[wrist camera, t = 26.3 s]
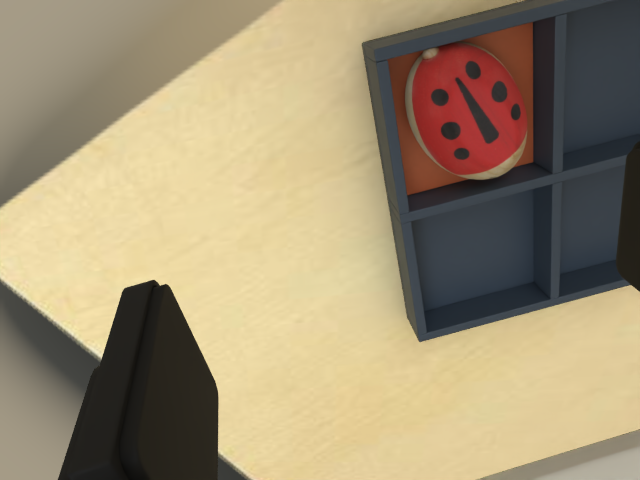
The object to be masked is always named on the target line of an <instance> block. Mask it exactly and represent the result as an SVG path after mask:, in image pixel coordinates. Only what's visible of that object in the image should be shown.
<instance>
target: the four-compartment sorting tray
mask: <svg viewBox="0 0 640 480" xmlns="http://www.w3.org/2000/svg"><path fill="white" fill-rule="evenodd" d="M457 41H463V42H468V43H472V44H475V45H477V46H480V47H482V48H484V49H485V50H487V51H489V52H490V53H491V54H493V55H494V56H495V57H496V58H497V59H498V60H499V61H500V62H501V63H502V64H503V65H504V66H505V68H506V69H507V70H508V72H509V73H510V75H511V76H512V78H513V79H514V81H515V83H516V85H517V87H518V89H519V91H520V93H521V96H522V98H523V101H524V105H525V109H526V113H527V139H526V144H525V148H524V150H523V153H522V156H521V157H520V159H519V160H518V162H517V163H516V164H515V166H514V167H513V168H511V169H510V170H509V171H508V172H506V173H505V174H503V175H501V176H499V177H496V178H492V179H485V180H475V179H468V178H463V177H460V176H457V175H455V174H452V173H450V172H448V171H446V170H445V169H443V168H441V167H440V166H439V165H437V164H436V163H435V162H434V161H433V160H432V159H431V158H430V157H429V156H428V155H427V154H426V153H425V152H424V150H423V149H422V148H421V146H420V145H419V143H418V141H417V140H416V138H415V136H414V134H413V132H412V129H411V127H410V124H409V121H408V117H407V113H406V106H405V88H406V82H407V78H408V75H409V72H410V70H411V68H412V66H413V64H414V63H415V61H416V60H417V59H418V57H419V56H420V55H421V54H422V53H423V50H426V49H430V48H434V47H438V46H442V45H446V44H449V43H453V42H457ZM362 48H363V54H364V60H365V66H366V72H367V78H368V84H369V90H370V96H371V102H372V108H373V114H374V120H375V126H376V132H377V138H378V144H379V150H380V156H381V162H382V168H383V174H384V180H385V186H386V192H387V198H388V204H389V210H390V216H391V222H392V228H393V234H394V240H395V246H396V252H397V259H398V265H399V271H400V277H401V283H402V289H403V295H404V301H405V307H406V313H407V318H408V320H409V322H410V324H411V326H412V328H413V330H414V332H415V334H416V336H417V338H418V340H419V342H422V341H425V340H429V339H433V338H436V337H440V336H444V335H448V334H451V333H455V332H459V331H462V330H466V329H470V328H473V327H477V326H481V325H484V324H488V323H492V322H495V321H499V320H503V319H506V318H510V317H514V316H517V315H521V314H525V313H529V312H532V311H536V310H540V309H543V308H547V307H551V306H554V305H558V304H562V303H565V302H569V301H573V300H576V299H580V298H584V297H587V296H591V295H595V294H599V293H602V292H606V291H610V290H613V289H617V288H621V287H624V286H628V285H631V284H630V283H628V282H627V281H626V280H624V279H623V278H622V277H621V275H620V274H619V272H618V270H617V267H616V254H617V244H618V234H619V224H620V214H621V204H622V194H623V184H624V174H625V164H626V158H627V155H628V153H629V152H631V151H632V149H633V147H634V145H635V144H636V143H637V142H639V141H640V0H526V1H522V2H518V3H514V4H511V5H507V6H503V7H499V8H495V9H491V10H487V11H483V12H479V13H476V14H472V15H468V16H464V17H460V18H456V19H452V20H448V21H444V22H441V23H437V24H433V25H429V26H425V27H421V28H417V29H413V30H409V31H406V32H402V33H398V34H394V35H390V36H386V37H382V38H378V39H374V40H371V41H367V42H363V43H362Z"/></svg>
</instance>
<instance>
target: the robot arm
mask: <svg viewBox="0 0 640 480" xmlns="http://www.w3.org/2000/svg"><path fill="white" fill-rule="evenodd" d="M616 267H617V270H618V272H619V274H620V275H621V277H622V278H623V279H624V280H626V281H627V282H628V283H630V284H631V285H632V286H633V287H635V288H636V289H637V290H638V291H640V141H639V142H637V143H636V144H635V145H634V147H633V149H632V151H631V152H629V153H628V155H627V158H626V164H625V174H624V184H623V194H622V204H621V214H620V224H619V234H618V244H617V254H616ZM217 471H218V390H217V386H216V383H215V380H214V378H213V376H212V374H211V372H210V370H209V367H208V365H207V363H206V361H205V359H204V357H203V355H202V353H201V351H200V349H199V347H198V344H197V342H196V340H195V338H194V336H193V334H192V332H191V330H190V328H189V326H188V324H187V321H186V319H185V317H184V315H183V313H182V311H181V309H180V307H179V305H178V303H177V301H176V298H175V296H174V294H173V292H172V290H171V288H170V287H169V286H168V285H167V284H165V285H161V286H160V285H159V284H158V283H157V282H156V281H155V280H151V281H148V282H144V283H141V284H137V285H134V286H130V287H127V288H125V289H124V290H123V292H122V295H121V298H120V301H119V305H118V308H117V311H116V314H115V318H114V321H113V324H112V327H111V331H110V334H109V337H108V341H107V344H106V347H105V350H104V354H103V357H102V360H101V363H100V366H98V367H97V368H96V369H94V371H93V373H92V375H91V378H90V381H89V384H88V387H87V391H86V393H85V397H84V400H83V403H82V406H81V409H80V412H79V415H78V418H77V422H76V425H75V428H74V431H73V434H72V437H71V441H70V444H69V447H68V450H67V453H66V456H65V460H64V463H63V465H62V469H61V472H60V475H59V478H58V480H217V477H218V472H217ZM477 480H640V429H639V430H636V431H633V432H629V433H626V434H623V435H620V436H616V437H613V438H610V439H607V440H603V441H600V442H597V443H594V444H590V445H587V446H584V447H580V448H577V449H574V450H571V451H567V452H564V453H561V454H558V455H554V456H551V457H548V458H545V459H541V460H538V461H535V462H532V463H528V464H525V465H522V466H519V467H515V468H512V469H509V470H506V471H503V472H499V473H496V474H493V475H490V476H487V477H483V478H480V479H477Z"/></svg>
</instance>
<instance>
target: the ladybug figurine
mask: <svg viewBox="0 0 640 480" xmlns="http://www.w3.org/2000/svg"><path fill="white" fill-rule="evenodd" d="M405 106H406V113H407V117H408V121H409V124H410V127H411V129H412V132H413V134H414V136H415V138H416V140H417V141H418V143H419V145H420V146H421V148H422V149H423V150H424V152H425V153H426V154H427V155H428V156H429V157H430V158H431V159H432V160H433V161H434V162H435V163H436V164H437V165H439V166H440V167H441V168H443V169H445V170H446V171H448V172H450V173H452V174H455V175H457V176H460V177H463V178H468V179H475V180H485V179H492V178H496V177H499V176H501V175H503V174H505V173H506V172H508V171H509V170H510V169H511V168H513V167H514V166H515V164H516V163H517V162H518V160H519V159H520V157H521V156H522V153H523V150H524V148H525V144H526V139H527V113H526V109H525V105H524V101H523V98H522V96H521V93H520V91H519V89H518V87H517V85H516V83H515V81H514V79H513V78H512V76H511V75H510V73H509V72H508V70H507V69H506V68H505V66H504V65H503V64H502V63H501V62H500V61H499V60H498V59H497V58H496V57H495V56H494V55H493V54H491V53H490V52H489V51H487V50H485V49H484V48H482V47H480V46H477V45H475V44H472V43H468V42H463V41H457V42H453V43H449V44H446V45H442V46H438V47H434V48H430V49H426V50H423V53H422V54H421V55H420V56H419V57H418V59H417V60H416V61H415V63H414V64H413V66H412V68H411V70H410V72H409V75H408V78H407V82H406V88H405Z"/></svg>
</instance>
